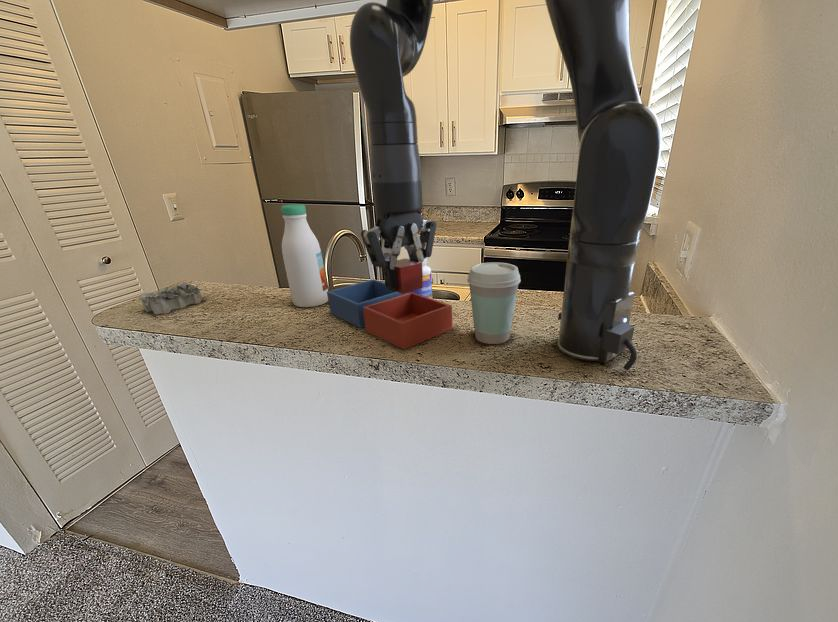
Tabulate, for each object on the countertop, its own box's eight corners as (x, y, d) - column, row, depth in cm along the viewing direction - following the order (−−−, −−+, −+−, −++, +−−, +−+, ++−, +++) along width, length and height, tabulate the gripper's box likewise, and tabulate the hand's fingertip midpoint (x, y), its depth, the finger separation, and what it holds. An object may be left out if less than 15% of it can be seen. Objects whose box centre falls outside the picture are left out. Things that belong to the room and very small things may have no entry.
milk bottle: (319, 309, 84) (300, 207, 75) (286, 307, 86) (263, 207, 76) (335, 297, 91) (320, 202, 82) (304, 295, 92) (285, 202, 83)
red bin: (452, 329, 73) (451, 305, 71) (403, 349, 66) (401, 323, 64) (413, 314, 80) (411, 291, 78) (365, 330, 73) (362, 307, 71)
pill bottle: (426, 307, 83) (423, 260, 79) (403, 305, 85) (399, 259, 80) (436, 299, 88) (434, 254, 83) (414, 297, 89) (411, 252, 85)
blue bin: (407, 311, 81) (406, 290, 79) (360, 328, 75) (357, 304, 72) (376, 299, 89) (373, 279, 86) (330, 313, 82) (326, 291, 80)
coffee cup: (515, 349, 65) (519, 276, 59) (463, 345, 67) (462, 274, 61) (519, 328, 72) (523, 262, 67) (472, 325, 74) (472, 260, 68)
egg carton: (157, 316, 83) (149, 298, 81) (140, 310, 87) (133, 292, 85) (208, 301, 91) (202, 283, 89) (191, 296, 95) (185, 279, 93)
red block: (422, 287, 69) (421, 262, 67) (402, 294, 67) (400, 267, 65) (406, 282, 72) (405, 258, 70) (386, 288, 70) (384, 263, 68)
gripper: (371, 182, 55) (383, 302, 63) (447, 176, 63) (449, 282, 71) (342, 180, 60) (357, 292, 68) (417, 174, 68) (422, 274, 76)
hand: (404, 286), depth 69 cm, fingers closed on red block, 4 cm apart
